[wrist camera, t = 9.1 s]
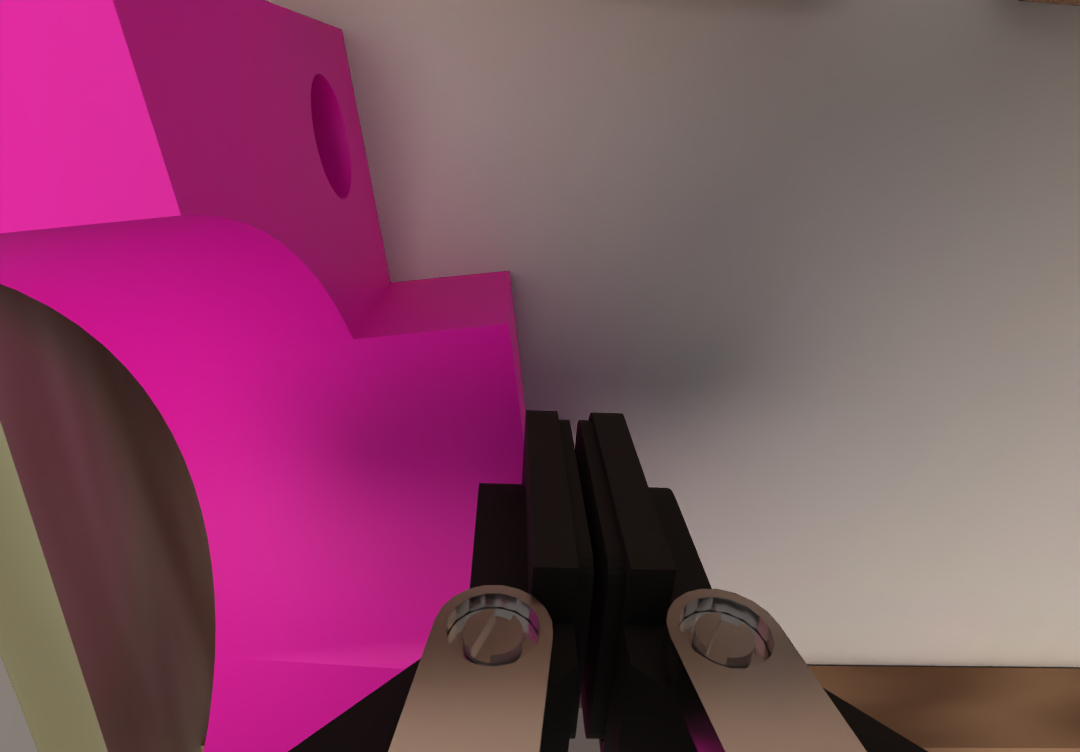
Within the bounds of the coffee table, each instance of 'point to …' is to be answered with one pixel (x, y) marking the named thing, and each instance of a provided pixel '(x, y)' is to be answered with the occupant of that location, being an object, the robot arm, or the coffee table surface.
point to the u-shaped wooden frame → (188, 590)
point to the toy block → (261, 330)
